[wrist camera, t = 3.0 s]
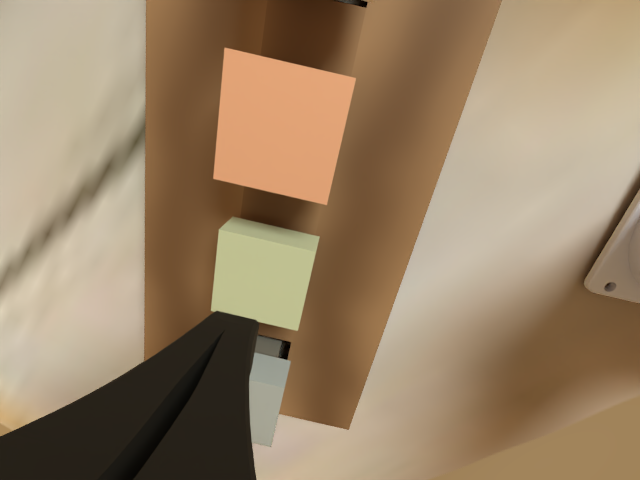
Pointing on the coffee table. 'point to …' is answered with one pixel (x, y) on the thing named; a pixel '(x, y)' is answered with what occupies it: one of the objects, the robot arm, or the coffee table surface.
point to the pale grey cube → (266, 389)
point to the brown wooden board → (348, 181)
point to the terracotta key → (280, 125)
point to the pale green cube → (262, 272)
